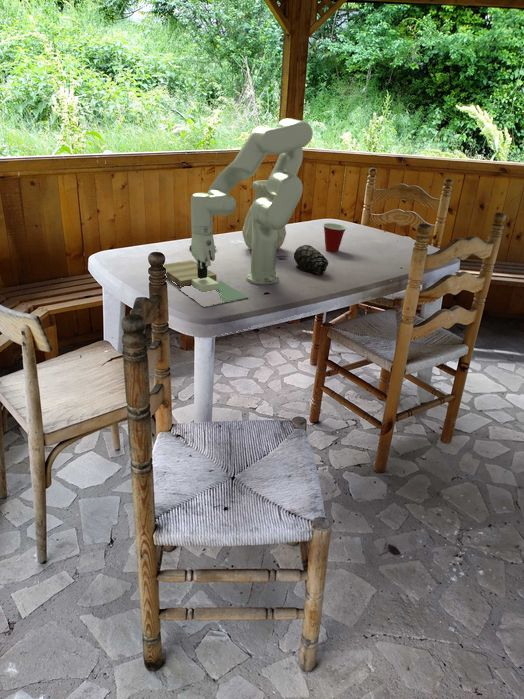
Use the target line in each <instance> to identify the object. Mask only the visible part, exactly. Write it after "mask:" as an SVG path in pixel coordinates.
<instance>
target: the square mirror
mask: <svg viewBox="0 0 524 699" xmlns="http://www.w3.org/2000/svg"><path fill="white" fill-rule="evenodd" d="M217 282H218V283H219V289H218V291H217V290H216V291H217V292H219V293H221V294H222V295H221V294H219V293H218V294H219V296H220V295H221V296H220V299H221V298H222V301H224V302H228V301H234V300H238V301H242V300H241V299H243V300H246V298H248V299H249V297H248V296H247V295H245V294H243V293H241V292H240V291H238V290H237V289H236V288H233V287H232V286H230V285H228V284H227V283H225V282H224V281H223V280H221V281H220V280H218V281H217ZM234 302H235V301H234ZM222 303H223V302H222Z"/></svg>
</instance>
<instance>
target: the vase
mask: <svg viewBox="0 0 524 699" xmlns="http://www.w3.org/2000/svg"><path fill="white" fill-rule="evenodd" d="M267 181H268V179H264V180H260V179H259V180H255V181H253V182H252V184H251V186H252V189H253V190H254V191H255V194H254V198H253V202H252V203H251V205H250V207H249V208H248V211H247V214H246V215H245V218H244V224H243V227H242V231H241V233H242V237H243V240H244V244H245V245H246V246H247V248H249V249H250V250H252V221H251V207H252V204H253V203H254V201H255V200H257V199H258V198H262V197H266V198H270V199H272V200H273V199H274V196H273V195H271V194H270V193H269V192H268V191H267V187H266V185H267ZM286 235H287V231H286V225H285V226H284V227H283V228H282V229H280V230H277V245H276V251H277V250H278V249H280V248H281V247H282V246H283V244H284V241H285V239H286Z"/></svg>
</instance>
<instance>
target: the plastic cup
mask: <svg viewBox="0 0 524 699" xmlns="http://www.w3.org/2000/svg"><path fill="white" fill-rule="evenodd" d="M322 225H323V230H324V231H323V233H324V244H325V251H326V252H327V253H331V254H332V253H333V254H334V253H338V252H339V250H340V246H341V243H342V240H343V236H344V234H345V231H346V230H347V229H348V228H347V227H346V226H345V225H342V224H339V223H331V222H330V223H329V222H327V223H323V224H322Z"/></svg>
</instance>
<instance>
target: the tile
mask: <svg viewBox="0 0 524 699" xmlns="http://www.w3.org/2000/svg"><path fill="white" fill-rule="evenodd" d="M218 282H219V281H217V280H216V281H214V280H213V279H211V278H209V277H207V278H202V279H200V278H198V279H192V286H193V287H194V288H196V289H198V290H199V291H201V292H207V291H212V290H218V289H219V283H218Z"/></svg>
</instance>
